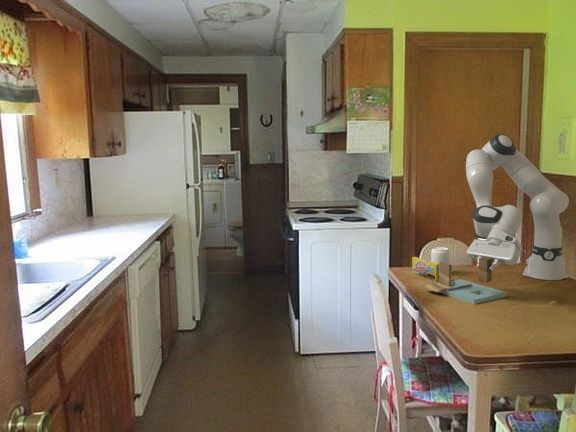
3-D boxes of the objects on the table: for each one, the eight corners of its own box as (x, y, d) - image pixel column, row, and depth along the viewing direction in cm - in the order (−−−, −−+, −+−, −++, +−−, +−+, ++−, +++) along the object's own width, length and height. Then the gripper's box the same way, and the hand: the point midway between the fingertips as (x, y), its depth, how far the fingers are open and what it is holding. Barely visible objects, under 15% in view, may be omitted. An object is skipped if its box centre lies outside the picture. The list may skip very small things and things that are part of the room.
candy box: (411, 274, 240) (411, 257, 239) (414, 273, 241) (415, 256, 240) (435, 282, 226) (436, 264, 225) (439, 281, 227) (440, 263, 226)
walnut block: (483, 279, 203) (483, 257, 201) (491, 281, 200) (492, 258, 199) (478, 280, 201) (478, 258, 199) (486, 282, 198) (486, 259, 197)
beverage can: (436, 270, 246) (437, 246, 244) (451, 273, 240) (452, 248, 238) (427, 273, 240) (427, 248, 239) (442, 276, 234) (443, 251, 233)
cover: (439, 284, 214) (439, 261, 212) (453, 288, 207) (454, 265, 205) (423, 287, 209) (423, 264, 208) (437, 292, 202) (438, 268, 201)
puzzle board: (460, 284, 222) (460, 277, 221) (505, 298, 202) (506, 290, 201) (429, 291, 213) (430, 283, 212) (474, 306, 193) (474, 297, 193)
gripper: (472, 233, 210) (458, 259, 206) (520, 239, 194) (505, 268, 190) (478, 242, 214) (464, 268, 209) (525, 248, 197) (511, 277, 193)
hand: (484, 268), depth 199 cm, fingers closed on walnut block, 3 cm apart
